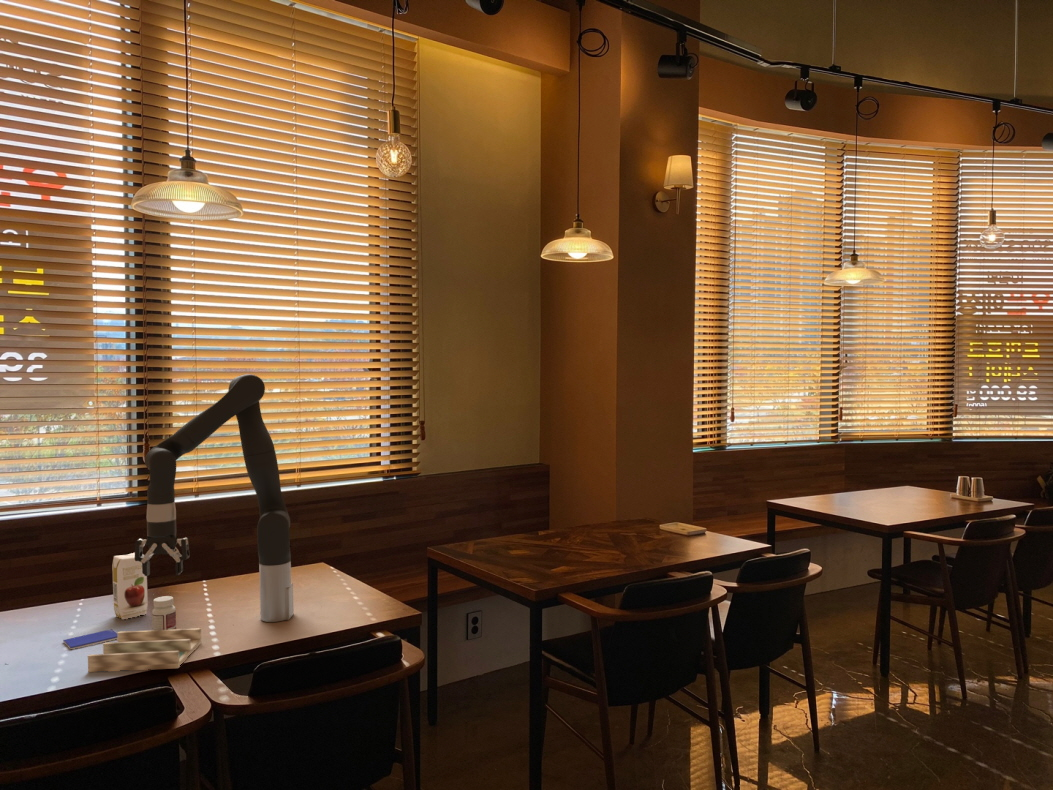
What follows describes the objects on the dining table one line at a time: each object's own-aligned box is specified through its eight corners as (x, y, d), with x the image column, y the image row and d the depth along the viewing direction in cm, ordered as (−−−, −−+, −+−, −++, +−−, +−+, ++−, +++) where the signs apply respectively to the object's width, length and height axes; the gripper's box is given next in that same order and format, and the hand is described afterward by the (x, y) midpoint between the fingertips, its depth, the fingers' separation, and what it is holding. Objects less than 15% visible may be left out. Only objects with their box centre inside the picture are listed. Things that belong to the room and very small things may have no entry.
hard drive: (111, 628, 226) (63, 639, 217) (119, 635, 220) (70, 646, 211) (111, 633, 226) (63, 644, 217) (119, 640, 220) (70, 652, 211)
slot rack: (201, 643, 216) (201, 628, 216) (178, 668, 198) (177, 652, 197) (119, 646, 214) (118, 631, 213) (88, 672, 196) (87, 656, 195)
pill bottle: (176, 632, 225) (175, 594, 224) (176, 639, 219) (175, 599, 219) (152, 636, 222) (151, 597, 221) (152, 642, 216) (151, 602, 216)
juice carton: (111, 616, 240) (109, 556, 239) (140, 609, 246) (138, 550, 246) (121, 621, 235) (118, 559, 234) (150, 614, 241) (148, 554, 241)
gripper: (192, 515, 224) (193, 570, 224) (140, 516, 222) (142, 572, 223) (182, 520, 216) (183, 577, 217) (129, 521, 215) (131, 579, 215)
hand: (162, 574), depth 220 cm, fingers open, 8 cm apart
